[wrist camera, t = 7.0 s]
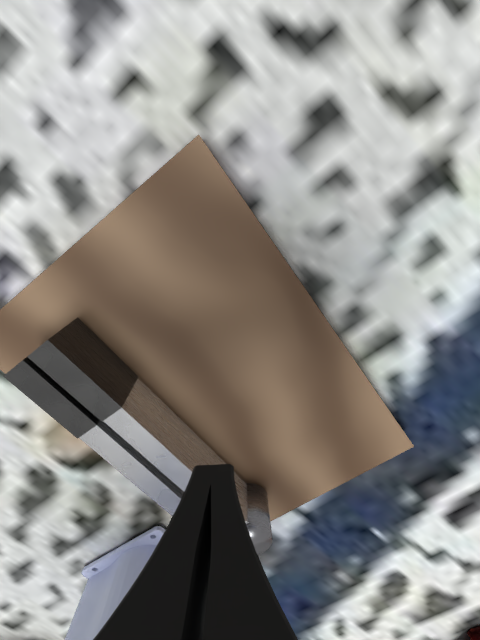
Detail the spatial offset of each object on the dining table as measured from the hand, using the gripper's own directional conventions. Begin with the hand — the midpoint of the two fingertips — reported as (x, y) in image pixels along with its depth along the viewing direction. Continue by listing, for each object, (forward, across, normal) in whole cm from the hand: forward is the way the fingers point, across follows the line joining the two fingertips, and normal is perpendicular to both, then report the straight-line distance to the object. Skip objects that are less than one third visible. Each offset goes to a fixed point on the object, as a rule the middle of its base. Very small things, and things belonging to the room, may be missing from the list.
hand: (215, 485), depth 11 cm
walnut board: (+10, +1, +2) cm, 11 cm away
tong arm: (+9, +3, +5) cm, 10 cm away
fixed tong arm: (+9, +6, +4) cm, 11 cm away
